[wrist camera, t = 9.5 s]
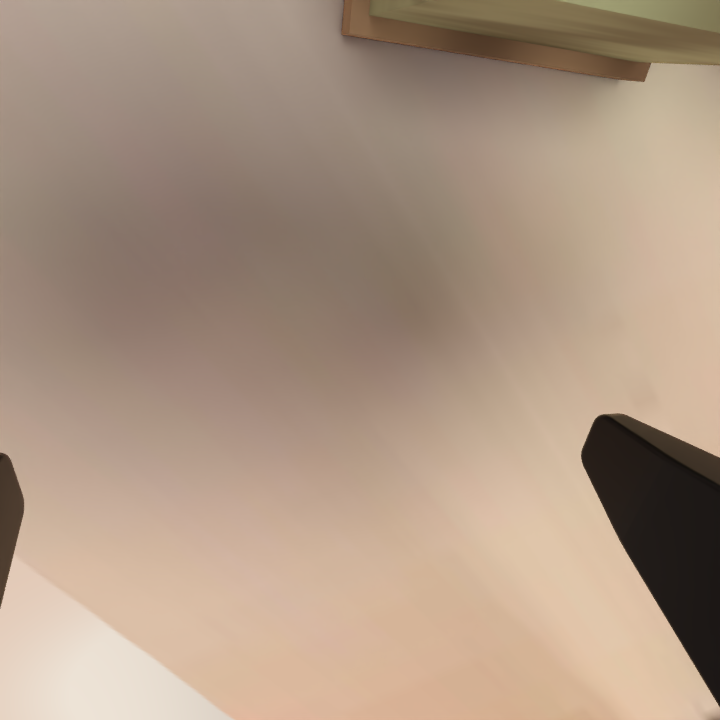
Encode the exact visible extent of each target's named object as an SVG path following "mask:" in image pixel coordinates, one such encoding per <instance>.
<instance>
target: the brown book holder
mask: <svg viewBox="0 0 720 720" xmlns="http://www.w3.org/2000/svg"><path fill="white" fill-rule="evenodd" d="M341 34H342V35H348V36H354V37H360V38H366V39H372V40H379V41H385V42H391V43H397V44H403V45H409V46H416V47H422V48H428V49H434V50H440V51H446V52H453V53H459V54H465V55H471V56H477V57H483V58H490V59H496V60H502V61H508V62H514V63H520V64H527V65H533V66H539V67H545V68H551V69H557V70H564V71H570V72H576V73H582V74H588V75H594V76H601V77H607V78H613V79H619V80H629V81H641V82H644V81H645V78H646V76H647V73H648V70H649V67H650V65H651V63H673V64H698V65H720V0H345V1H344V12H343V22H342V33H341Z"/></svg>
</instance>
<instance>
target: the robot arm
mask: <svg viewBox="0 0 720 720" xmlns="http://www.w3.org/2000/svg"><path fill="white" fill-rule="evenodd" d="M581 459H582V463H583V466H584V468H585V470H586V472H587V474H588V476H589V478H590V481H591V483H592V485H593V487H594V489H595V491H596V493H597V495H598V497H599V499H600V501H601V503H602V505H603V507H604V509H605V511H606V514H607V516H608V518H609V520H610V522H611V524H612V526H613V528H614V530H615V532H616V534H617V536H618V538H619V540H620V542H621V544H622V545H623V547H624V549H625V551H626V552H627V554H628V556H629V557H630V559H631V561H632V562H633V564H634V566H635V567H636V569H637V571H638V572H639V574H640V576H641V577H642V579H643V581H644V582H645V584H646V586H647V587H648V589H649V591H650V592H651V594H652V596H653V597H654V599H655V601H656V602H657V604H658V605H659V607H660V609H661V610H662V612H663V614H664V615H665V617H666V619H667V620H668V622H669V624H670V625H671V627H672V629H673V630H674V632H675V634H676V635H677V637H678V639H679V640H680V642H681V644H682V645H683V647H684V649H685V650H686V652H687V654H688V655H689V657H690V659H691V660H692V662H693V664H694V665H695V667H696V669H697V670H698V672H699V673H700V675H701V677H702V678H703V680H704V682H705V683H706V685H707V687H708V688H709V690H710V692H711V693H712V695H713V697H714V698H715V700H716V702H717V703H718V705H719V707H720V458H719V457H717V456H715V455H713V454H710V453H708V452H706V451H704V450H702V449H699V448H697V447H695V446H693V445H691V444H688V443H686V442H684V441H682V440H680V439H677V438H675V437H673V436H671V435H669V434H667V433H664V432H662V431H660V430H658V429H656V428H653V427H651V426H649V425H647V424H645V423H642V422H640V421H638V420H636V419H634V418H631V417H629V416H627V415H624V414H618V413H617V414H603V415H600V416H598V417H597V418H596V419H595V420H594V422H593V425H592V427H591V429H590V432H589V434H588V436H587V439H586V441H585V444H584V446H583V448H582V452H581ZM23 513H24V498H23V494H22V491H21V489H20V486H19V483H18V480H17V477H16V474H15V471H14V468H13V465H12V462H11V460H10V458H9V457H8V456H7V455H6V454H4V453H0V607H1V603H2V599H3V595H4V591H5V587H6V583H7V579H8V574H9V571H10V567H11V562H12V559H13V554H14V550H15V546H16V542H17V538H18V534H19V530H20V526H21V522H22V518H23Z"/></svg>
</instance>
